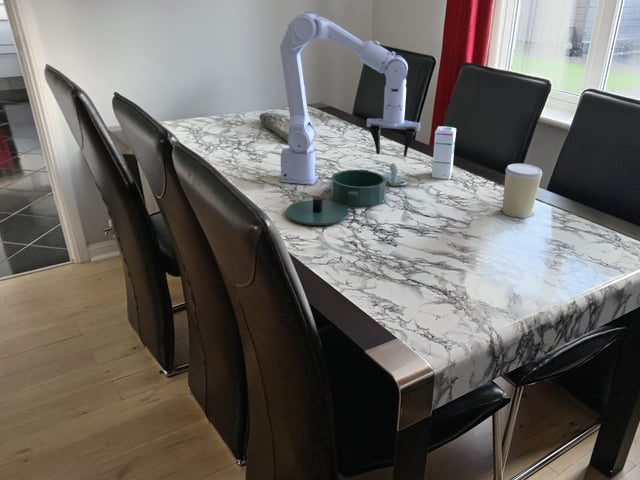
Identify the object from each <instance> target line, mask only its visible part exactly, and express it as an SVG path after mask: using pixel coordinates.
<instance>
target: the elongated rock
mask: <svg viewBox="0 0 640 480" xmlns="http://www.w3.org/2000/svg"><path fill="white" fill-rule="evenodd" d="M289 120H290V118H288V117H286V116H285V117H284V116H283V115H279V114H276V113H271V112H268V111H265V112H262V113H260V114H259V121H260V122H261V123H262V124H263V125H264V128H266V129H269V130H270V131H273V132H274V134H275V135H278V136H279V137H280V138H281V139H282V140H283V141H285V142H288V141H287V139H288V135H289Z"/></svg>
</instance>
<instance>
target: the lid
mask: <svg viewBox="0 0 640 480" xmlns="http://www.w3.org/2000/svg"><path fill="white" fill-rule="evenodd" d="M349 214H350V211H349V209H348V207H347V206H345V205H341V204H339V203H337V202H335V201H333V200H332V201H331V200H327V199H326V200H324V199H323V197H322V196H319V195H315V196H313V197H312V199H307V200H302V201H297V202H295V203H292V204H290V205H289V206H288V207H287V208H286V210H285V215H286V216H287V218H288V219H290V220H291V221H293V222H296V223H299V224H303V225H309V226H310V225H311V226H327V225H333V224H334V225H335V224H338V223H340V222H343V221H344V220H346V219H347V218H348V217H349Z"/></svg>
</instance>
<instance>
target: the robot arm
mask: <svg viewBox="0 0 640 480" xmlns="http://www.w3.org/2000/svg"><path fill="white" fill-rule="evenodd" d="M315 38H317V40H332V41H333V42H335V43H337V44H339V45H341V46H343V47H344V48H346V49H348V50H349V51H352V52H354V53H356V54H357V55H358V59H359V61H360V62H361V63H362V64H365V65H366V66H368V67H370V68H371V69H373V70H375V71H377V72H378V73H379V74H384V76H385V78H386V79H385V86H384V97H383V116H382V117H383V118H370V117H369V118H366V128H370V129H369V132H370V135H371V137H372V140H373V142H374V147H375V152H376V155H380V152H381V130H382V128H384V129H394V130H395V129H396V130H405V136H404V137H405V138H404V149H403V157H407V155H408V150H409V146H410V144H411V142H412V141H413V139H414V136H415V134H416V132H420V130H421V129H420V128H421V122H417V121H410V120H405V114H406V113H405V111H406V99H407V98H406V96H407V86H406V85H407V76H408V74H409V73H408V70H409V66H408V62H407V61H406V60H405V58H404V57H403V56H402V55H399V54H396V52H395V51H393V50H392V51H389V50H388V49H386V48H385V47H383V46H381V45H380V42H379V41H378V40H374V41H373V40H367V41H362V40H361V39H360V38H358V37H356V36H355V35H354V34H353V33H350V32H349V31H347V30H346V29H344V28H343V27H341V26H339V25H338V24H336V23H335V22H333V21H331V20H330V19H328V18H325V17H324V16H322V15H320V16H319V15H318V14H317V13H316V12H313V11H306V12H304V13H302V14H298V15H297V16H295V17H294V18H293V19H292V20H291V21H290V22H289V23H288V25H287V29H286V31H285V34H284V36H283V38H282V40H281V43H280V46H279V52H280V58H281V64H282V71H283V78H284V84H285V85H284V86H285V92H286V96H287V97H286V99H287V106H288V112H289V135H288V139H287V141H286V142H287V145H288V147H284V148H282V150H281V153H280V182H281V183H289V184H301V185H310V186H313V185H314V184H315V183H316V181H317V180H318V178H319V177H320V176H319V174H316V147H315V146H314V144H313V142H314V140H315V139H316V135H317V133H316V130H315V127H314V125H313V124H312V119H311V117H310V114H309V111H308V104H307V103H308V102H307V97H306V96H307V95H306V87H305V82H304V80H305V79H304V73H303V66H302V58H301V52H302V51H303V50H304V49H305V47H306V46H307V45H308V43H309V42H310V41H312V40H314V39H315Z"/></svg>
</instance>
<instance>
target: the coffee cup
mask: <svg viewBox="0 0 640 480" xmlns="http://www.w3.org/2000/svg"><path fill="white" fill-rule="evenodd" d="M542 177H543V171H542V169H541V168H540V167H538V166H535V165H533V164H528V163H511V164H508V165H507V167H506V168H505V178H504V187H503V198H502V212H503V214H505V215H507V216H509V217H512V218H521V219H522V218H528V217H530V216H531V215H532V213H533V211H534V206H535V202H536V199H537V195H538V191H539V187H540V183H541V179H542Z"/></svg>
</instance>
